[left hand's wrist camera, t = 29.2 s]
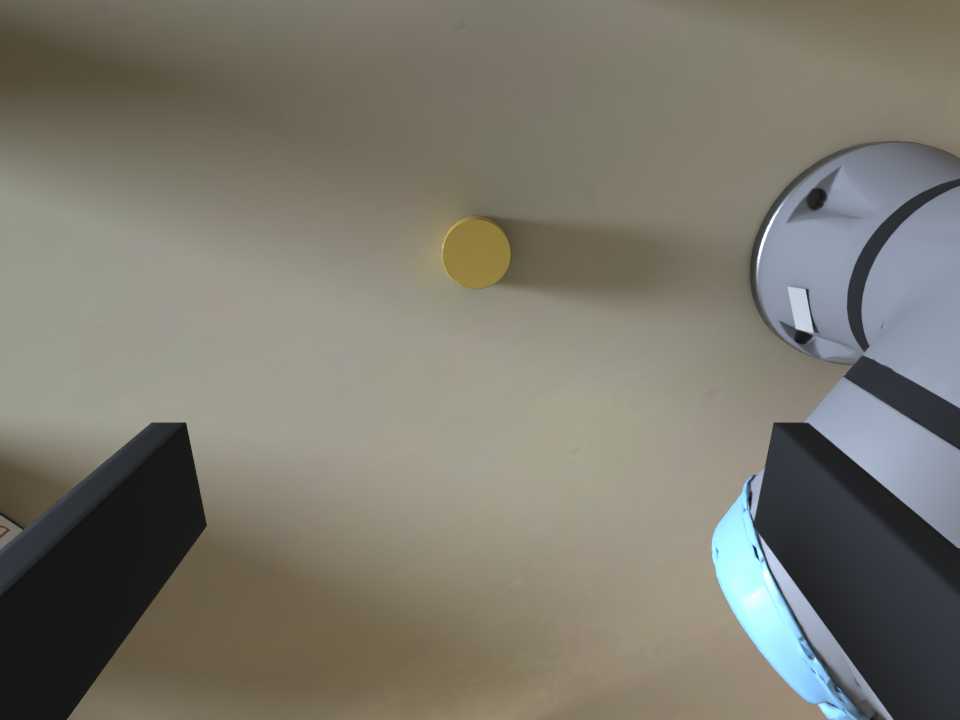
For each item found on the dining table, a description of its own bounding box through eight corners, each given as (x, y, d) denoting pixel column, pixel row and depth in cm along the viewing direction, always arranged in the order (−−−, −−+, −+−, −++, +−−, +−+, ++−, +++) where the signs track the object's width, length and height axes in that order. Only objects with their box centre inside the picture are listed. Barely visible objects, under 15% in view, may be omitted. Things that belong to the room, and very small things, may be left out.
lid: (519, 267, 41) (521, 273, 39) (459, 291, 42) (458, 299, 40) (494, 205, 40) (495, 208, 38) (433, 231, 40) (430, 235, 38)
